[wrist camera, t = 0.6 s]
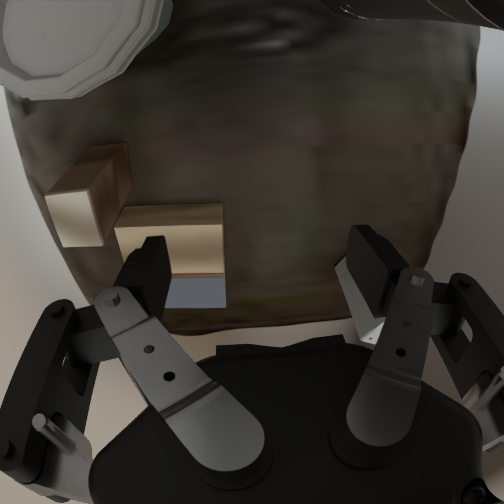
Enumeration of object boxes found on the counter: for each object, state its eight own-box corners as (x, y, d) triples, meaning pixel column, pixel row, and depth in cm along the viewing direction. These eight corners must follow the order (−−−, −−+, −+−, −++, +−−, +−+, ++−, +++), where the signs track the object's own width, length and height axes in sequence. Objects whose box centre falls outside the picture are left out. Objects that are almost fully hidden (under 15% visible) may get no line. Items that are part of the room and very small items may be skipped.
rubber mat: (136, 254, 35) (136, 256, 35) (224, 253, 36) (224, 254, 36) (152, 306, 42) (151, 307, 41) (226, 305, 42) (226, 307, 42)
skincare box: (353, 276, 40) (381, 348, 31) (331, 266, 39) (358, 342, 30) (383, 246, 37) (421, 318, 28) (362, 233, 36) (400, 308, 26)
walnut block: (91, 146, 26) (44, 196, 18) (126, 142, 26) (86, 191, 18) (100, 188, 29) (63, 247, 21) (133, 185, 29) (102, 245, 22)
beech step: (124, 206, 31) (113, 229, 28) (222, 203, 32) (222, 225, 28) (136, 254, 35) (129, 278, 32) (224, 253, 36) (224, 277, 33)
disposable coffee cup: (195, -43, 15) (160, -115, 3) (200, 61, 22) (166, 82, 10) (82, -15, 14) (-27, -26, 3) (91, 82, 21) (-11, 136, 10)
